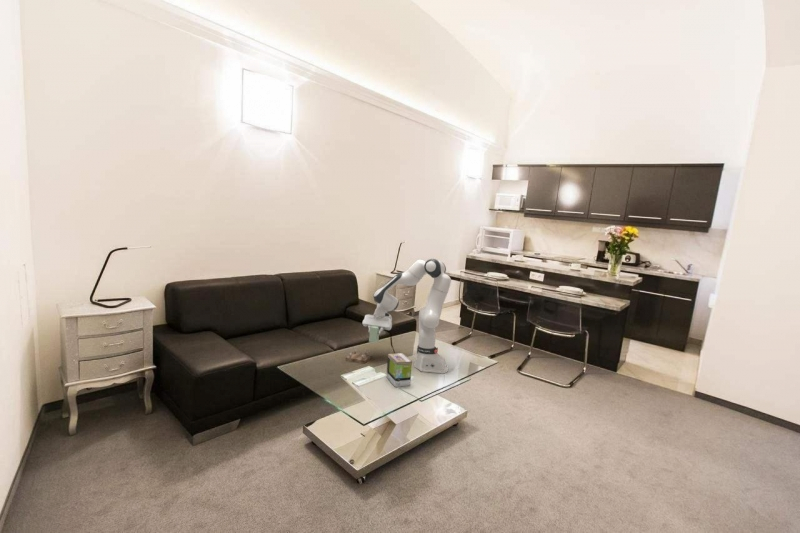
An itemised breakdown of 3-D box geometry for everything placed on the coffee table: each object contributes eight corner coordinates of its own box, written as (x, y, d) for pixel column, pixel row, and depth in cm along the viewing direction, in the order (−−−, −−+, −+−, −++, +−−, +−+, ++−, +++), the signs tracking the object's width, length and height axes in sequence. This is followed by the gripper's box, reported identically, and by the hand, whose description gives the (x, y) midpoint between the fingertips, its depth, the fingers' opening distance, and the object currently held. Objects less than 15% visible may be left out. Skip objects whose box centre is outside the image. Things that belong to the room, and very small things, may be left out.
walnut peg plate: (371, 357, 251) (371, 350, 251) (364, 363, 240) (365, 356, 239) (352, 354, 255) (352, 347, 254) (345, 360, 243) (345, 353, 243)
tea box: (410, 385, 210) (412, 360, 209) (394, 387, 206) (396, 362, 205) (401, 375, 224) (402, 352, 222) (385, 377, 220) (387, 353, 219)
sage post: (378, 340, 245) (379, 326, 244) (376, 342, 240) (377, 328, 239) (371, 339, 246) (372, 325, 246) (368, 341, 242) (370, 327, 241)
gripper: (364, 311, 251) (358, 328, 243) (393, 315, 246) (387, 332, 237) (366, 316, 256) (360, 333, 247) (394, 320, 250) (389, 337, 242)
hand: (374, 333), depth 242 cm, fingers closed on sage post, 5 cm apart
